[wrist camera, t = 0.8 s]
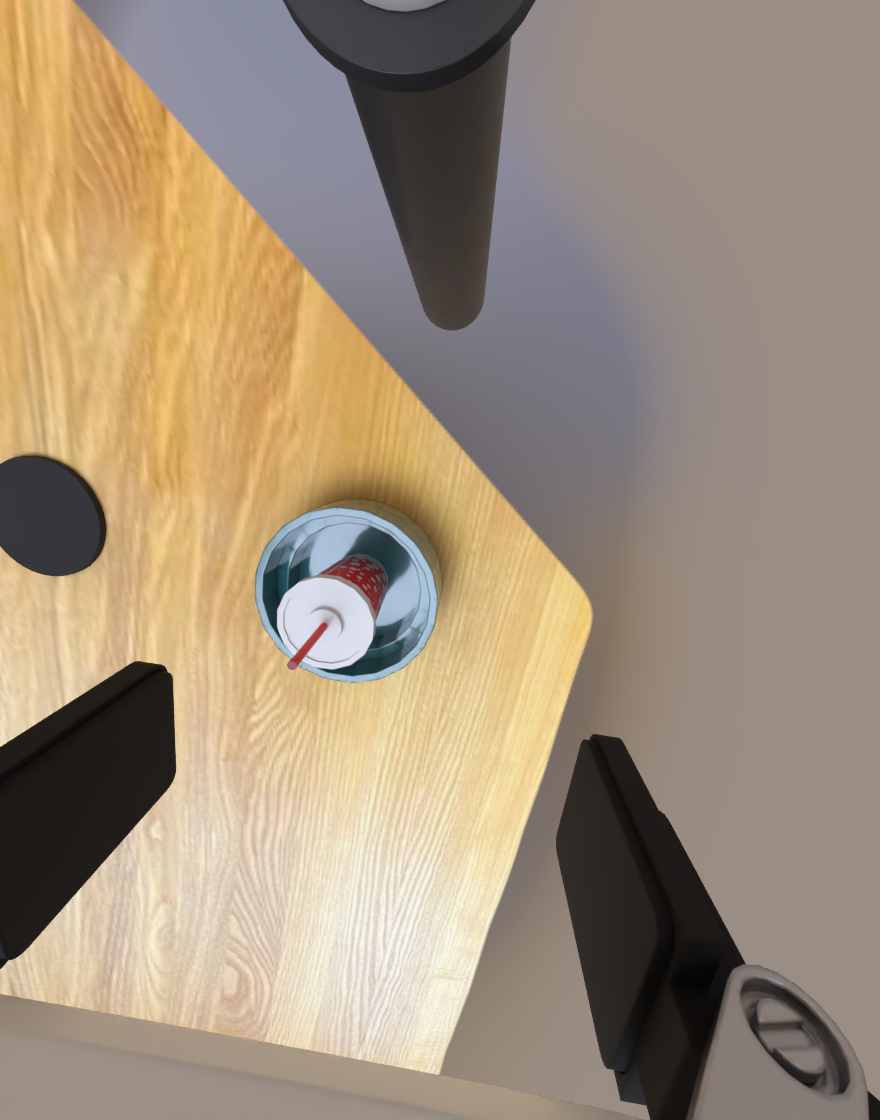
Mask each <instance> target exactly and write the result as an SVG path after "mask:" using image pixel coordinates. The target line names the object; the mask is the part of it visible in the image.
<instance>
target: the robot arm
mask: <svg viewBox="0 0 880 1120" xmlns="http://www.w3.org/2000/svg"><path fill="white" fill-rule="evenodd" d="M363 1H364V2H366V3H368V4H370V5H373V6H376V7H379V8H382V9H385V10H391V11H404V12H408V11H414V10H420V9H425V8H428V7H431V6H433V5H435V4H438V3H440V2H442V1H445V0H363ZM175 773H176V753H175V726H174V698H173V678H172V675H171V674H170V673H168V672H167V669H166V667H165V666H163V665H159V664H153V663H147V662H140V661H136V662H133V663H131V664H129V665H128V666H126V667H125V668H123V669H122V670H120V671H118V672H117V673H115V674H114V675H112V676H111V677H109V678H108V679H106V680H104V681H103V682H101V683H100V684H98V685H97V686H95V687H93V688H92V689H90V690H89V691H87V692H86V693H84V694H83V695H81V696H79V697H78V698H76V699H75V700H73V701H72V702H70V703H68V704H67V705H65V706H64V707H62V708H61V709H59V710H57V711H56V712H54V713H53V714H51V715H50V716H48V717H47V718H45V719H43V720H42V721H40V722H39V723H37V724H36V725H34V726H32V727H31V728H29V729H28V730H26V731H25V732H23V733H22V734H20V735H18V736H17V737H15V738H14V739H12V740H11V741H9V742H7V743H6V744H4V745H3V746H1V747H0V969H1V968H2V967H3V966H4V965H5V964H6V963H7V961H8V960H12V959H15V958H17V957H18V956H19V955H21V954H22V953H23V952H24V951H25V950H26V949H27V948H28V947H29V946H30V945H31V944H32V943H33V941H34V940H35V939H36V938H37V937H38V936H39V935H40V934H41V932H42V931H43V930H44V929H45V928H46V927H47V926H48V924H49V923H50V922H51V921H52V920H53V919H54V918H55V916H56V915H57V914H58V913H59V912H60V911H61V910H62V909H63V907H64V906H65V905H66V904H67V903H68V902H69V901H70V899H71V898H72V897H73V896H74V895H75V894H76V893H77V892H78V890H79V889H80V888H81V887H82V886H83V885H84V884H85V882H86V881H87V880H88V879H89V878H90V877H91V876H92V875H93V873H94V872H95V871H96V870H97V869H98V868H99V867H100V865H101V864H102V863H103V862H104V861H105V860H106V859H107V857H108V856H109V855H110V854H111V853H112V852H113V851H114V850H115V848H116V847H117V846H118V845H119V844H120V843H121V842H122V840H123V839H124V838H125V837H126V836H127V835H128V834H129V833H130V831H131V830H132V829H133V828H134V827H135V826H136V825H137V823H138V822H139V821H140V820H141V819H142V818H143V817H144V815H145V814H146V813H147V812H148V811H149V810H150V809H151V808H152V806H153V805H154V804H155V803H156V802H157V801H158V800H159V798H160V797H161V796H162V795H163V794H164V793H165V792H166V791H167V789H168V788H169V787H170V785H171V784H172V782H173V780H174V777H175ZM556 850H557V856H558V860H559V865H560V870H561V874H562V879H563V884H564V888H565V893H566V898H567V902H568V906H569V911H570V916H571V921H572V925H573V929H574V935H575V939H576V944H577V948H578V953H579V958H580V962H581V967H582V972H583V976H584V981H585V985H586V990H587V995H588V999H589V1004H590V1008H591V1013H592V1017H593V1022H594V1027H595V1032H596V1036H597V1041H598V1045H599V1050H600V1054H601V1057H602V1061H603V1063H604V1065H605V1067H606V1068H607V1069H612V1070H614V1073H615V1078H616V1082H617V1086H618V1091H619V1095H620V1099H621V1101H625V1102H631V1103H636V1104H641V1105H647V1109H648V1112H649V1116H650V1120H880V1101H879V1100H878V1099H877V1098H876V1097H874V1096H873V1095H872V1094H871V1093H870V1092H869V1091H868V1090H867V1086H866V1081H865V1076H864V1072H863V1068H862V1066H861V1064H860V1062H859V1060H858V1058H857V1056H856V1054H855V1052H854V1050H853V1048H852V1046H851V1044H850V1043H849V1041H848V1040H847V1038H846V1037H845V1036H844V1034H843V1033H842V1032H841V1030H840V1028H839V1027H838V1026H837V1024H836V1023H835V1022H834V1020H832V1018H831V1017H830V1016H829V1015H828V1014H827V1013H826V1012H825V1011H824V1010H823V1008H822V1007H821V1006H820V1005H819V1004H818V1003H817V1002H816V1001H815V1000H814V999H813V998H812V997H810V996H809V995H808V994H807V993H806V992H804V991H803V990H802V989H801V988H800V987H799V986H797V985H796V984H795V983H793V982H791V981H790V980H788V979H787V978H785V977H783V976H782V975H780V974H779V973H777V972H775V971H772V970H769V969H767V968H764V967H762V966H759V965H747V964H745V962H744V960H743V958H742V956H741V954H740V953H739V950H738V949H737V947H736V945H735V943H734V941H733V939H732V937H731V936H730V934H729V932H728V930H727V928H726V926H725V924H724V922H723V921H722V919H721V917H720V915H719V913H718V911H717V909H716V908H715V906H714V904H713V902H712V900H711V898H710V896H709V894H708V893H707V891H706V889H705V887H704V885H703V883H702V881H701V879H700V878H699V876H698V874H697V872H696V870H695V868H694V867H693V865H692V863H691V861H690V859H689V857H688V855H687V853H686V851H685V850H684V848H683V846H682V844H681V842H680V840H679V838H678V837H677V835H676V833H675V831H674V829H673V827H672V825H671V824H670V822H669V820H668V819H667V818H666V816H665V814H663V813H662V812H661V811H659V810H658V808H657V807H656V804H655V802H654V800H653V799H652V797H651V795H650V793H649V791H648V789H647V787H646V785H645V783H644V781H643V779H642V777H641V776H640V774H639V772H638V770H637V768H636V766H635V764H634V762H633V760H632V758H631V756H630V755H629V753H628V751H627V749H626V747H625V745H624V743H623V741H622V740H621V739H620V738H616V737H609V736H603V735H597V734H593V735H592V736H591V737H590V739H589V740H583V741H582V742H581V745H580V749H579V753H578V757H577V761H576V764H575V768H574V772H573V775H572V779H571V783H570V787H569V791H568V794H567V798H566V802H565V806H564V809H563V813H562V817H561V820H560V824H559V828H558V832H557V838H556ZM0 1120H642V1119H639V1118H635V1117H632V1116H628V1115H625V1114H621V1113H618V1112H614V1111H609V1110H604V1109H600V1108H595V1107H591V1106H586V1105H582V1104H576V1103H572V1102H568V1101H563V1100H558V1099H553V1098H549V1097H544V1096H540V1095H535V1094H530V1093H526V1092H521V1091H516V1090H512V1089H508V1088H502V1087H498V1086H493V1085H487V1084H482V1083H477V1082H472V1081H467V1080H461V1079H456V1078H451V1077H446V1076H441V1075H435V1074H430V1073H425V1072H420V1071H415V1070H409V1069H404V1068H399V1067H394V1066H388V1065H383V1064H378V1063H373V1062H368V1061H362V1060H357V1059H352V1058H347V1057H342V1056H336V1055H331V1054H326V1053H320V1052H315V1051H310V1050H304V1049H299V1048H294V1047H288V1046H283V1045H277V1044H272V1043H267V1042H261V1041H256V1040H250V1039H245V1038H240V1037H234V1036H229V1035H224V1034H218V1033H213V1032H207V1031H202V1030H196V1029H191V1028H185V1027H180V1026H175V1025H169V1024H164V1023H158V1022H153V1021H147V1020H142V1019H136V1018H131V1017H125V1016H120V1015H114V1014H109V1013H103V1012H97V1011H92V1010H86V1009H81V1008H75V1007H69V1006H64V1005H58V1004H52V1003H47V1002H41V1001H35V1000H30V999H24V998H19V997H13V996H7V995H2V994H0Z"/></svg>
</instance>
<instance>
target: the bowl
mask: <svg viewBox="0 0 880 1120" xmlns="http://www.w3.org/2000/svg"><path fill="white" fill-rule="evenodd" d="M356 553H359V554H368V555H370V556H372V557H374V558H375V559H377V560H378V561H379V562H380V563H381V564H382V565H383V566H384V568H385V570H386V572H387V575H388V578H389V579H388V589H387V592H386V595H385V598H384V600H383V603H382V606H381V608H380V611H379V614H378V616H377V619H376V626H375V635H374V638H373V640H372V642H371V644H370V645H369V647H368V649H367V651H366V653H365V655H363V656H362V657H361V658H359V659H358V660H357V661H355V662H354V663H353V664H351V665H349V666H345V667H341V668H337V669H325V668H317V667H313V666H311V665H309V664H307V663H305V662H303V661H301V663H300V664H299V665H298V666H300V667H301V668H303V669H305V670H308V671H310V672H312V673H314V674H316V675H319V676H321V677H323V678H326V679H331V680H337V681H344V682H350V683H356V682H363V681H371V680H378V679H381V678H383V677H385V676H388V675H390V674H392V673H394V672H396V671H398V670H400V669H403V668H404V667H405V666H406V665H407V664H408V663H409V662H410V661H411V660H412V659H414V658H415V657H416V656H417V655H418V654H419V653H420V652H421V651H422V650H423V648H424V646H425V644H426V642H427V640H428V638H429V637H430V635H431V633H432V631H433V629H434V626H435V622H436V617H437V611H438V606H439V600H440V593H441V586H442V576H441V571H440V566H439V560H438V556H437V554H436V552H435V550H434V548H433V546H432V545H431V543H430V541H429V539H428V537H427V536H426V534H425V533H424V531H423V530H422V529H421V528H419V527H418V526H417V525H416V524H415V523H414V522H413V521H412V520H411V519H410V518H409V517H408V516H407V515H405V514H404V513H402V512H400V511H398V510H396V509H393V508H391V507H389V506H387V505H385V504H383V503H380V502H375V501H368V500H361V499H350V500H344V501H339V502H333V503H329V504H326V505H324V506H321V507H319V508H316V509H314V510H311V511H309V512H307V513H305V514H303V515H301V516H300V517H298V518H296V519H294V520H292V521H291V522H289V523H287V524H285V525H284V526H283V527H282V528H281V529H280V530H279V531H278V532H277V534H276V535H275V536H274V537H273V538H272V539H271V541H270V542H269V543H268V544H267V545H266V547H265V549H264V551H263V554H262V557H261V559H260V562H259V565H258V568H257V570H256V580H255V600H256V604H257V607H258V611H259V614H260V617H261V620H262V623H263V626H264V628H265V630H266V631H267V633H268V634H269V635H270V637H271V638H272V640H273V641H274V643H275V644H276V646H277V647H278V649H279V650H280V651H282V652H283V653H284V654H285V655H286V656H288V657H289V658H290V659H292V658H293V656H294V654H293V653H292V652H291V651H290V650H289V649H288V648H287V647H286V646H285V645H284V643H283V640H282V638H281V636H280V633H279V631H278V628H277V609H278V607H279V605H280V603H281V601H282V599H283V596H284V594H285V593H286V592H288V591H289V590H290V589H291V588H292V587H294V586H295V585H296V584H297V583H298V582H300V581H302V580H303V579H305V578H309V577H312V576H316V575H318V574H319V573H321V572H323V571H324V570H326V569H327V568H329V567H330V566H332V565H334V564H335V563H337V562H338V561H340V560H341V559H343V558H344V557H346V556H349V555H352V554H356Z"/></svg>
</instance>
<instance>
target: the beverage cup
mask: <svg viewBox="0 0 880 1120" xmlns="http://www.w3.org/2000/svg"><path fill="white" fill-rule="evenodd" d="M388 579H389V578H388V575H387V572H386V570H385V568H384V566H383V565H382V564H381V563H380V562H379V561H378V560H377V559H375V558H374V557H372V556H370V555H368V554H359V553H356V554H352V555H349V556H346V557H344V558H343V559H341V560H340V561H338V562H337V563H335V564H334V565H332V566H330V567H329V568H327V569H326V570H324V571H323V572H321V573H319V574H318V575H316V576H312V577H309V578H305V579H303V580H302V581H300V582H298V583H297V584H296V585H295V586H294V587H292V588H291V589H290V590H289V591H288V592H286V593H285V594H284V596H283V599H282V601H281V603H280V605H279V607H278V609H277V628H278V631H279V633H280V636H281V638H282V640H283V643H284V645H285V646H286V647H287V648H288V649H289V650H290V651H291V652H292V653H293V654H294V656H293V658H292V659H291V660H290V661H289V662H288V664H287V666H288V668H289V669H291V670H295V669H296V668H297V666H298V665H299V664H300V663H301V661H303V662H305V663H307V664H309V665H311V666H313V667H317V668H325V669H337V668H341V667H345V666H349V665H351V664H353V663H354V662H355V661H357V660H358V659H359V658H361V657H362V656H363V655H365V653H366V651H367V649H368V647H369V645H370V644H371V642H372V640H373V638H374V635H375V626H376V619H377V616H378V614H379V611H380V608H381V606H382V603H383V600H384V598H385V595H386V592H387V589H388Z"/></svg>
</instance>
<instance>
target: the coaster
mask: <svg viewBox="0 0 880 1120" xmlns="http://www.w3.org/2000/svg"><path fill="white" fill-rule="evenodd" d="M104 540H105V520H104V515H103V512H102V509H101V506H100V504H99V502H98V500H97V498H96V496H95V494H94V493H93V491H92V490H91V488H90V487H89V486H88V484H87V483H86V482H85V481H84V480H83V479H82V478H81V477H80V476H79V475H78V474H77V473H75V472H74V471H73V470H71V469H70V468H68V467H67V466H65V465H63V464H61V463H60V462H57V461H55V460H52V459H49V458H45V457H39V456H21V457H15V458H12V459H9V460H7V461H5V462H3V463H1V464H0V546H1V547H2V549H3V550H4V551H5V552H6V553H7V554H8V555H9V556H10V557H11V558H13V559H14V560H15V561H16V562H18V563H19V564H21V565H22V566H24V567H26V568H28V569H30V570H32V571H34V572H37V573H40V574H44V575H50V576H65V575H70V574H73V573H76V572H79V571H81V570H84V569H85V568H87V567H88V566H90V565H91V564H92V563H93V562H94V561H95V560H96V558H97V557H98V556H99V554H100V552H101V550H102V547H103V544H104Z"/></svg>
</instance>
